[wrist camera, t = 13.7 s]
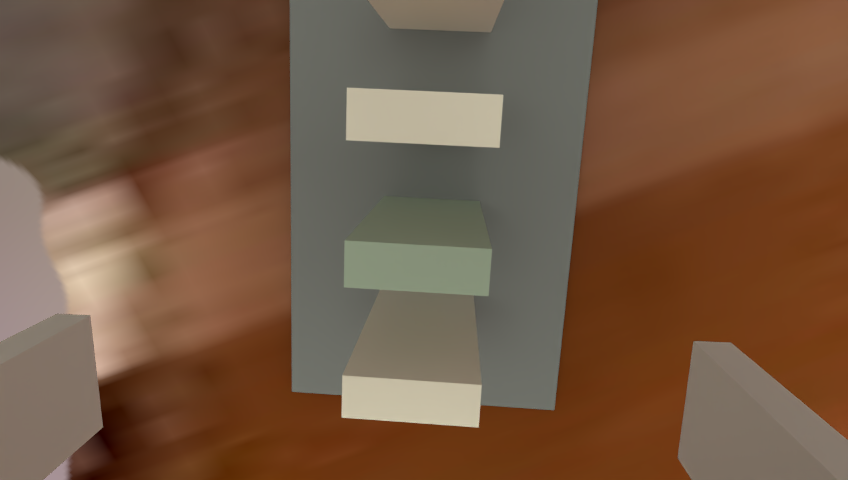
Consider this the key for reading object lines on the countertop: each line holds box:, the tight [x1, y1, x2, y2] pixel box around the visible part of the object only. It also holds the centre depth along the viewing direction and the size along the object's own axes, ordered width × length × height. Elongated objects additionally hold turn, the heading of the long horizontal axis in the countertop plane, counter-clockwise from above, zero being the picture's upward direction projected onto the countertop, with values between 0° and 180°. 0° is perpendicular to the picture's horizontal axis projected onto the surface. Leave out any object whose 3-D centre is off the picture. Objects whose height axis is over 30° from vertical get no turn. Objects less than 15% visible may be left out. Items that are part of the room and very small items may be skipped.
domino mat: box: [290, 0, 598, 410], centre depth 35 cm, size 18×38×1 cm, turn 177°
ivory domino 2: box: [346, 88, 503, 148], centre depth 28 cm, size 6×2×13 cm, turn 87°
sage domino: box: [344, 196, 492, 296], centre depth 29 cm, size 6×2×13 cm, turn 87°
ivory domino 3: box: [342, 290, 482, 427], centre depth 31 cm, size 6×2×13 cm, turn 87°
